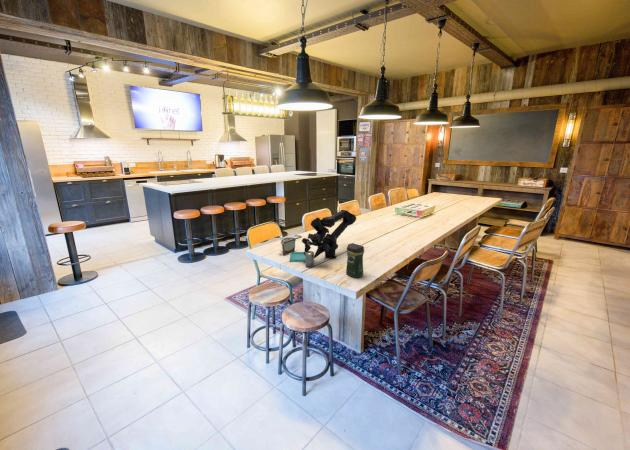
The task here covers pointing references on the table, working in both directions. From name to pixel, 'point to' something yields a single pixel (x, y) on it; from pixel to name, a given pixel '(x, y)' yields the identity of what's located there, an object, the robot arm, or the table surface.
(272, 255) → the table surface
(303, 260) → the teal tray
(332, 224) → the robot arm
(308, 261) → the grey tin
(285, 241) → the food container
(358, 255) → the coffee jar
